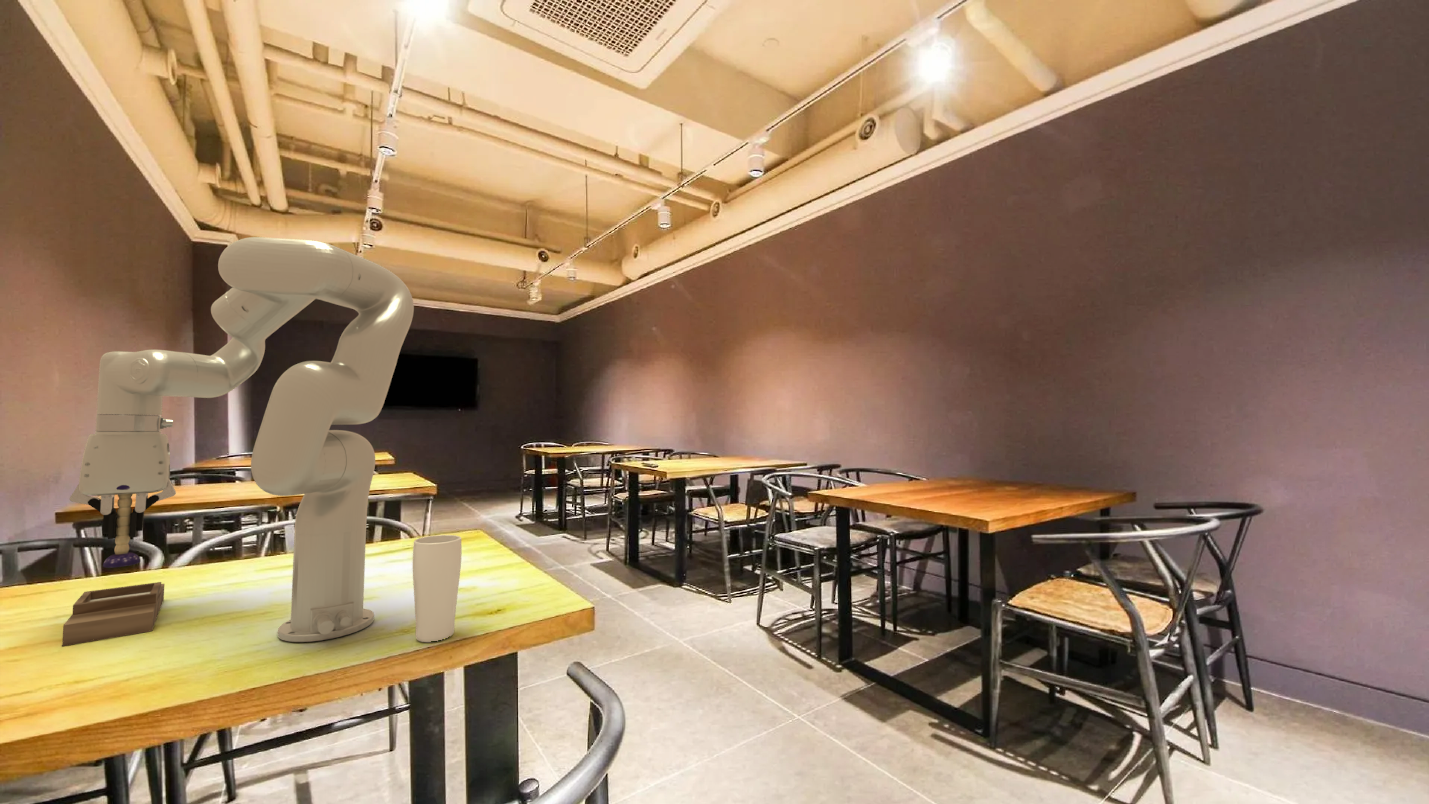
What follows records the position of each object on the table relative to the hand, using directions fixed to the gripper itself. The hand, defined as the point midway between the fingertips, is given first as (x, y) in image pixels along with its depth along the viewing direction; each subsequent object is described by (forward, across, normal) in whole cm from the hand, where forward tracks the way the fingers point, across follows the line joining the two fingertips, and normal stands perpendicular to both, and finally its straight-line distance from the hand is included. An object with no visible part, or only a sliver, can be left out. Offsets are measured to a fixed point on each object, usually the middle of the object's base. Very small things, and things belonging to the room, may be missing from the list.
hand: (122, 536), depth 91 cm
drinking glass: (+14, -38, +41) cm, 57 cm away
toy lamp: (+5, 0, 0) cm, 5 cm away
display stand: (+14, 0, 0) cm, 14 cm away
